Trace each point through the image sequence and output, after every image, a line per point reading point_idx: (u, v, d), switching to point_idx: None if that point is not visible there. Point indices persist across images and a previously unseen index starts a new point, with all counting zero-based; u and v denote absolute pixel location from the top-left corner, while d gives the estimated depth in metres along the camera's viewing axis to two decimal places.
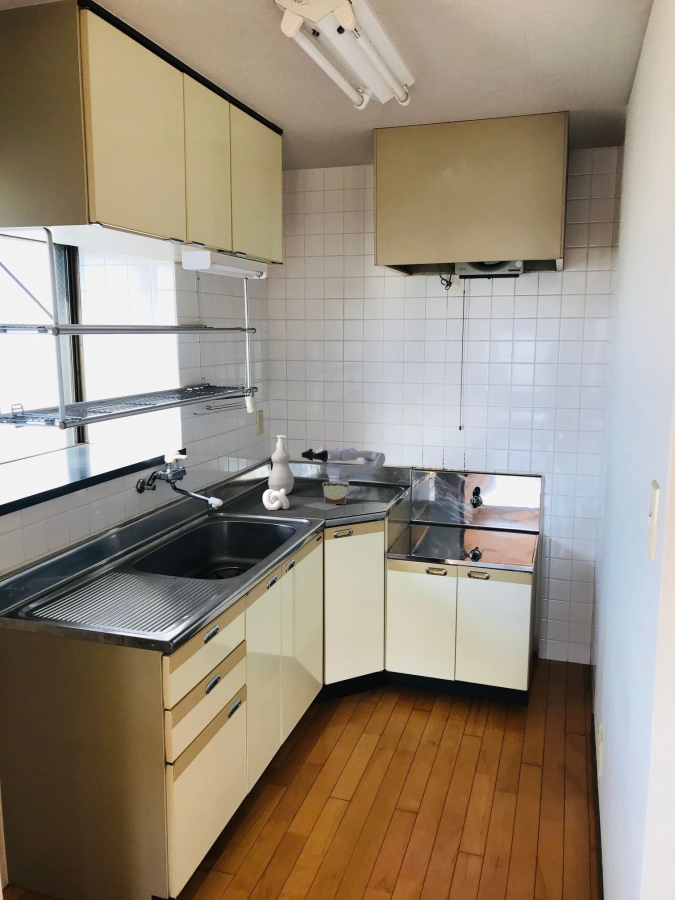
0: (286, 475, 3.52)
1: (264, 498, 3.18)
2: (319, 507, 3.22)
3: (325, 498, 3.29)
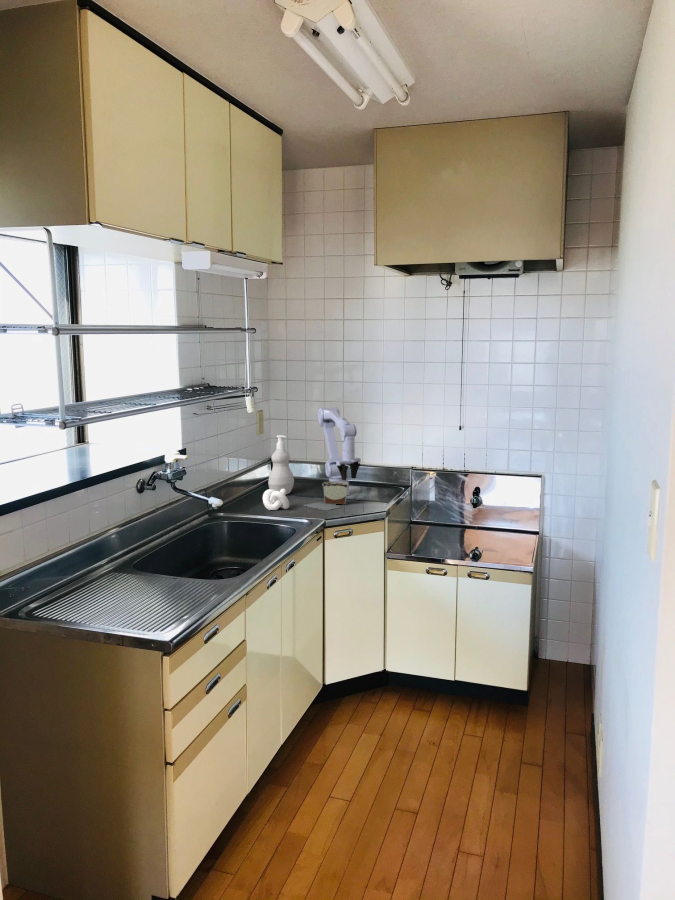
0: (286, 475, 3.52)
1: (264, 498, 3.18)
2: (319, 507, 3.22)
3: (325, 498, 3.29)
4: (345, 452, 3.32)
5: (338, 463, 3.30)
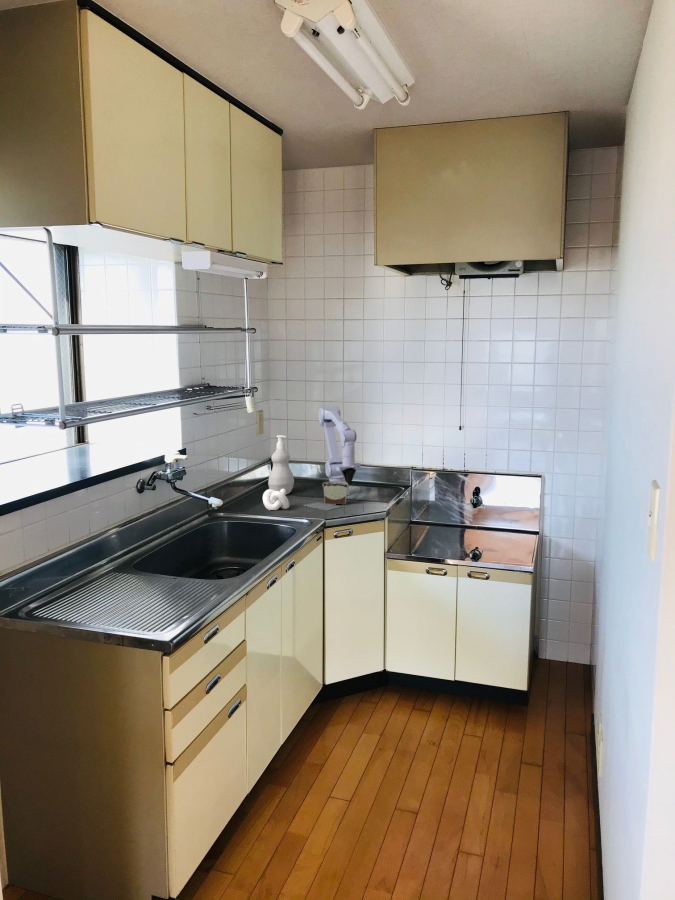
0: (286, 475, 3.52)
1: (264, 498, 3.18)
2: (319, 507, 3.22)
3: (325, 498, 3.29)
4: (345, 457, 3.33)
5: (338, 468, 3.30)
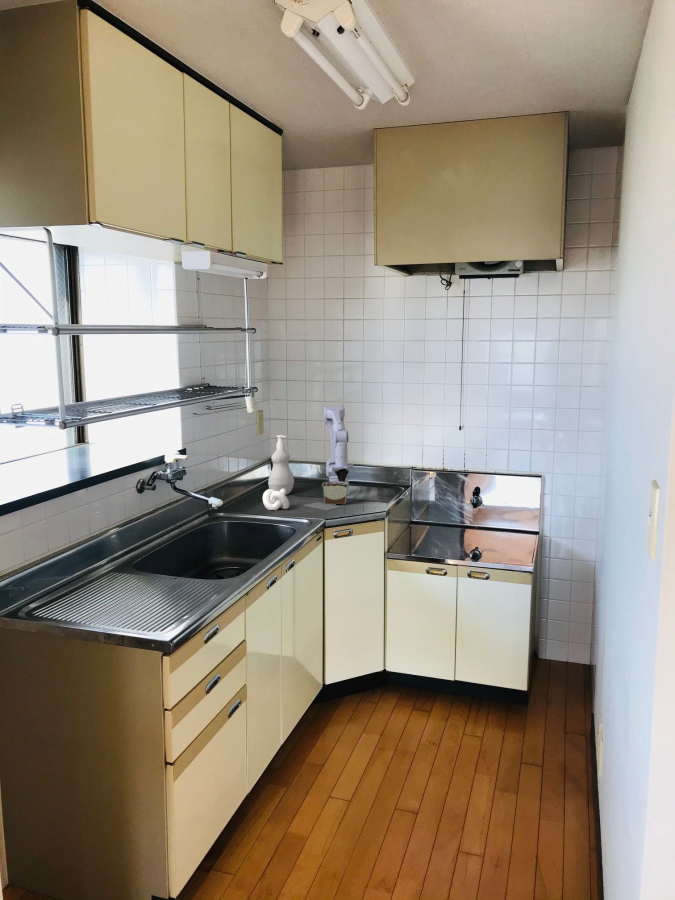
0: (286, 475, 3.52)
1: (264, 498, 3.18)
2: (319, 507, 3.22)
3: (325, 498, 3.29)
4: (338, 458, 3.29)
5: (331, 469, 3.27)
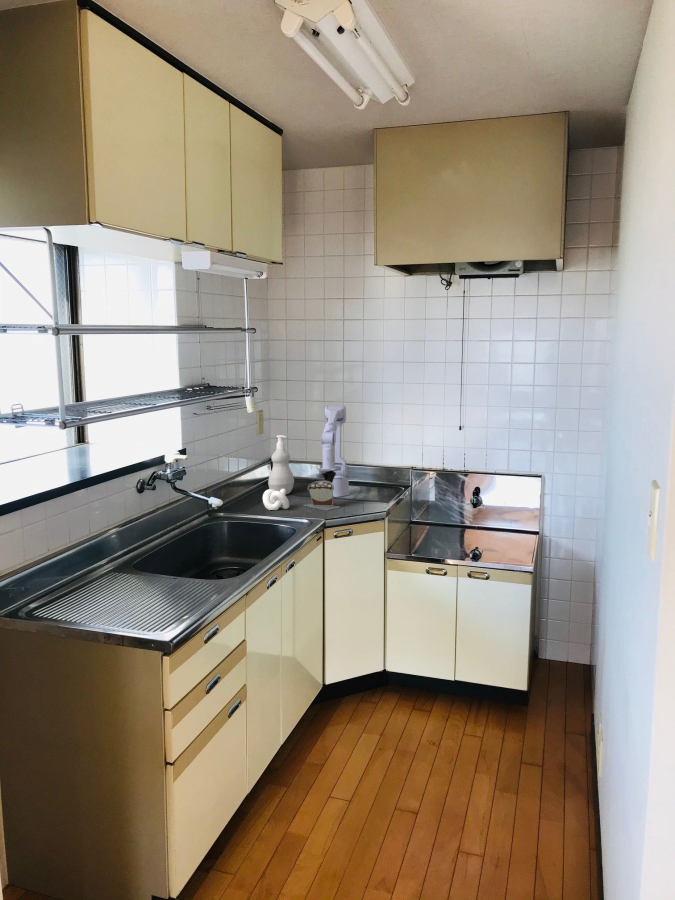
0: (286, 475, 3.52)
1: (264, 498, 3.18)
2: (319, 507, 3.22)
3: (312, 500, 3.25)
4: (325, 460, 3.23)
5: (318, 471, 3.21)
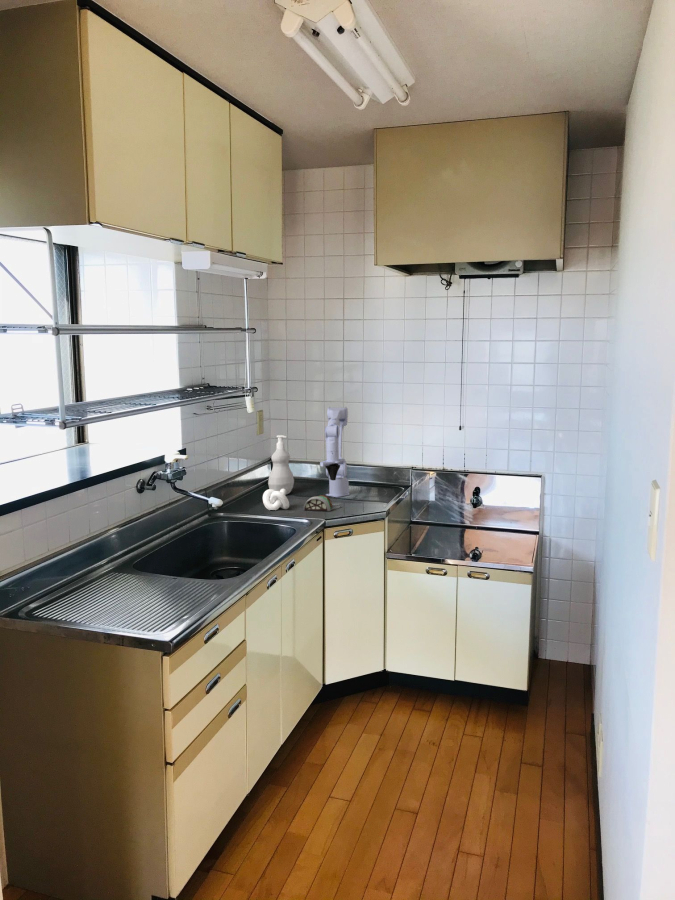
0: (286, 475, 3.52)
1: (264, 498, 3.18)
2: None
3: None
4: (329, 453, 3.31)
5: (322, 464, 3.29)
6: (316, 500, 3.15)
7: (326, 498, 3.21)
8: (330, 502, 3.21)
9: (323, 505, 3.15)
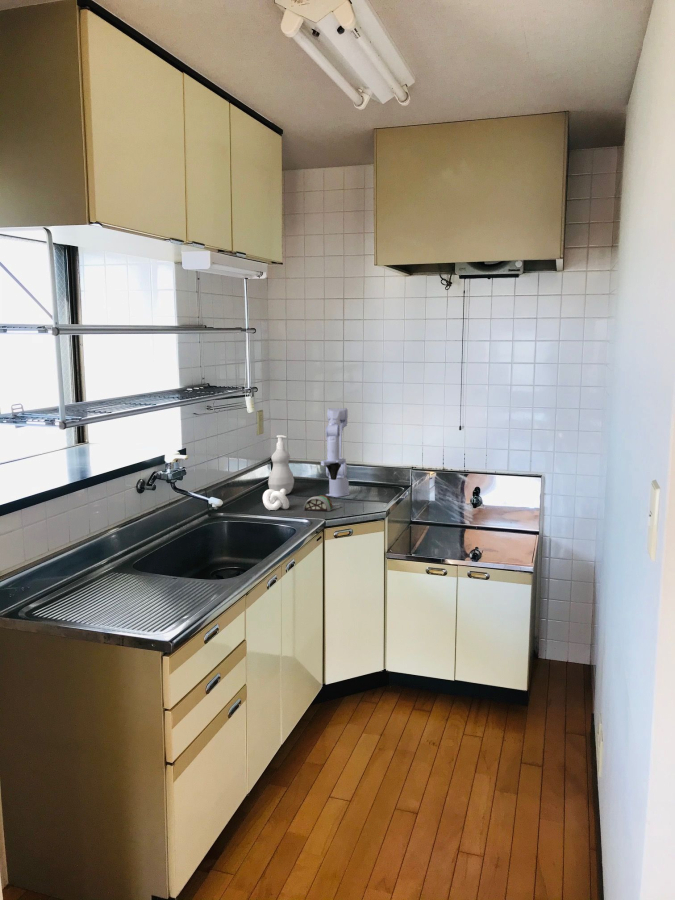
0: (286, 475, 3.52)
1: (264, 498, 3.18)
2: None
3: None
4: (330, 452, 3.32)
5: (322, 463, 3.30)
6: (316, 500, 3.15)
7: (326, 498, 3.21)
8: (330, 502, 3.21)
9: (323, 505, 3.15)
